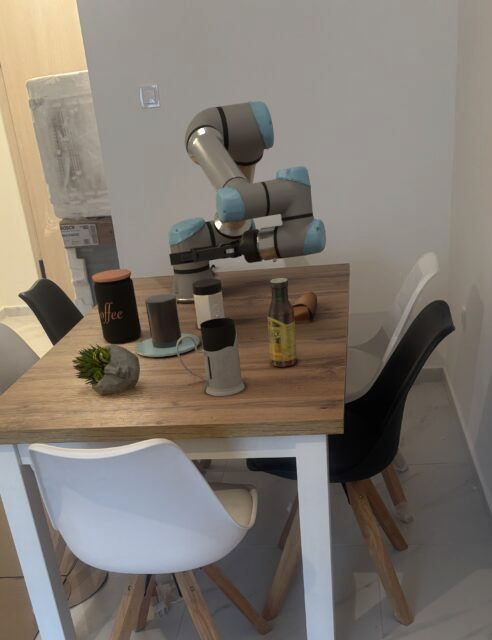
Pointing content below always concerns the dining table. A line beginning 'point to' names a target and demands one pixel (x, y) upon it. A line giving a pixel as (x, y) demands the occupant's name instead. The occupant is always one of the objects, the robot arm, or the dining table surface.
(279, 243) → the robot arm
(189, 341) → the saucer
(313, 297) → the sunglasses case
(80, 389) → the dining table surface
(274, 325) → the sauce bottle
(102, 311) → the coffee jar
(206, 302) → the jar
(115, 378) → the potted plant
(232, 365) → the glass holder
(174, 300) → the dark glossy canister
